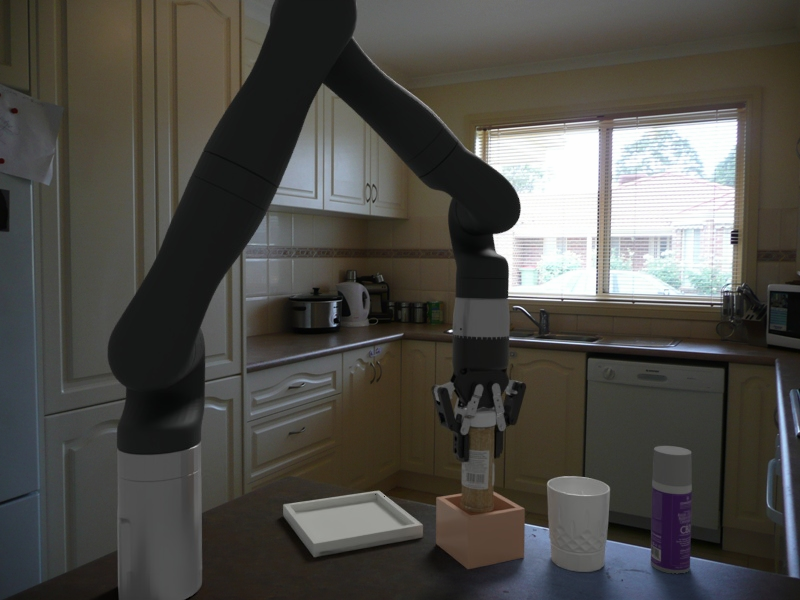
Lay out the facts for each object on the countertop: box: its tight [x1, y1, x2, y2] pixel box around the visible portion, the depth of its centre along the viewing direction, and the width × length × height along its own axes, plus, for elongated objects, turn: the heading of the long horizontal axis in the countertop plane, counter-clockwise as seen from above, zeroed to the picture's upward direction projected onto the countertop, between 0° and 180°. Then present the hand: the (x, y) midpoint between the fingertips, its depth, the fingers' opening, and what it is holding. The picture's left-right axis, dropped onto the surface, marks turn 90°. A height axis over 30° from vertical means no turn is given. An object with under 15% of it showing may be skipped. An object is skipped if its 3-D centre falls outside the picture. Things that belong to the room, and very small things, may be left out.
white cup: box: [546, 475, 611, 573], centre depth 84 cm, size 8×8×10 cm
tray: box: [282, 490, 424, 558], centre depth 96 cm, size 16×16×2 cm
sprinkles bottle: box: [461, 407, 496, 513], centre depth 87 cm, size 5×5×14 cm
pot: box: [435, 491, 526, 570], centre depth 87 cm, size 9×9×6 cm
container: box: [650, 445, 693, 575], centre depth 83 cm, size 5×5×15 cm
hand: (478, 458), depth 87 cm, fingers closed on sprinkles bottle, 4 cm apart
